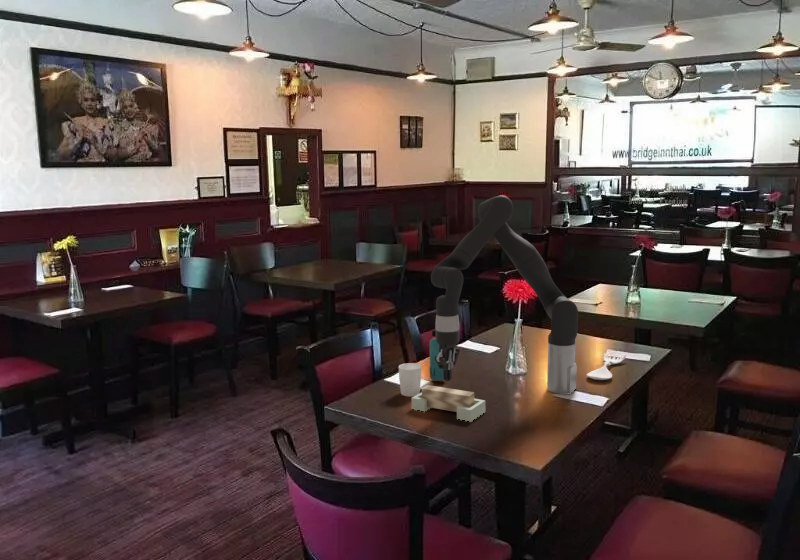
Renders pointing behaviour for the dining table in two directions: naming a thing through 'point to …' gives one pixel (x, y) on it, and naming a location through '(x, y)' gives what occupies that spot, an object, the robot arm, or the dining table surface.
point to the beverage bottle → (434, 351)
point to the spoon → (603, 371)
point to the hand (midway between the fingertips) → (447, 380)
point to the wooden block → (447, 398)
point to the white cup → (410, 379)
